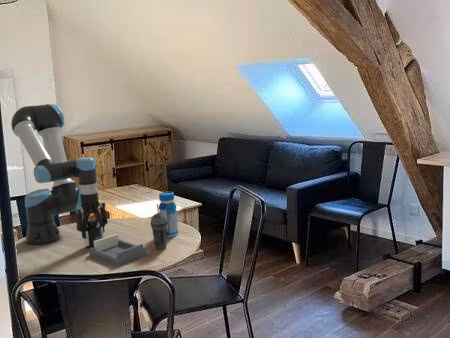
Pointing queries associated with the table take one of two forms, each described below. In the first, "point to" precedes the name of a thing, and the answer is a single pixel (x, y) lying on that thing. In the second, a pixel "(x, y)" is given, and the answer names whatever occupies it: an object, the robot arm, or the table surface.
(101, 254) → the pusher lane
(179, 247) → the table surface
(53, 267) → the table surface
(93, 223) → the supplement bottle
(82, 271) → the table surface
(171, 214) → the beverage bottle
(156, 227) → the beverage cup
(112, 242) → the plate
